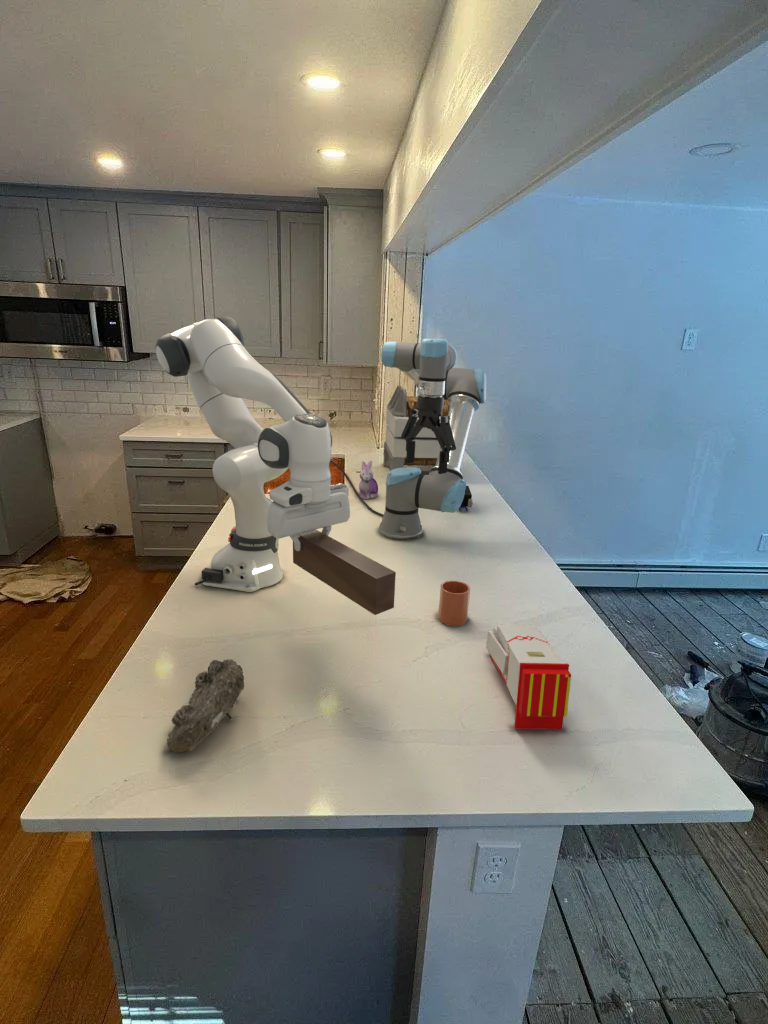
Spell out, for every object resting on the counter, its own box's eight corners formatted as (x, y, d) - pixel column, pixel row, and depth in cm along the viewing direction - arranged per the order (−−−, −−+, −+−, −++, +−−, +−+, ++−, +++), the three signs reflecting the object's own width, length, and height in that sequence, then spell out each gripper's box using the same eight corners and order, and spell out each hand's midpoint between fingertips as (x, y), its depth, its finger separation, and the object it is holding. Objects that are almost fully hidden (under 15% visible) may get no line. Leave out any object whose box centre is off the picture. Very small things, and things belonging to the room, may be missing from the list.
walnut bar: (310, 557, 136) (310, 526, 133) (394, 607, 114) (395, 572, 112) (292, 562, 132) (292, 531, 130) (375, 615, 111) (376, 578, 109)
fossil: (192, 660, 117) (244, 628, 112) (224, 691, 120) (276, 661, 115) (142, 746, 98) (202, 712, 93) (182, 779, 101) (242, 748, 96)
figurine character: (472, 516, 224) (466, 500, 237) (474, 499, 220) (469, 483, 234) (455, 515, 224) (451, 499, 237) (457, 498, 220) (452, 483, 234)
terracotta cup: (432, 616, 147) (434, 585, 144) (451, 608, 152) (454, 578, 149) (453, 629, 142) (456, 597, 139) (472, 619, 146) (476, 588, 143)
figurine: (363, 500, 232) (364, 465, 227) (352, 493, 240) (353, 459, 235) (383, 498, 236) (385, 463, 231) (372, 491, 244) (373, 457, 239)
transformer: (382, 463, 289) (386, 382, 275) (445, 464, 293) (451, 384, 279) (390, 482, 257) (394, 392, 243) (460, 483, 261) (468, 394, 247)
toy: (533, 609, 133) (580, 670, 104) (528, 661, 136) (573, 736, 107) (482, 608, 133) (514, 669, 103) (478, 661, 135) (509, 735, 106)
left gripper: (340, 478, 134) (339, 532, 138) (262, 493, 121) (264, 552, 126) (356, 485, 129) (354, 540, 134) (278, 501, 117) (279, 562, 121)
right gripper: (391, 390, 167) (388, 460, 174) (454, 402, 150) (447, 479, 157) (410, 389, 172) (406, 457, 179) (473, 400, 154) (465, 475, 162)
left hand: (310, 546), depth 130 cm, fingers closed on walnut bar, 5 cm apart
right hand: (425, 467), depth 168 cm, fingers open, 13 cm apart
